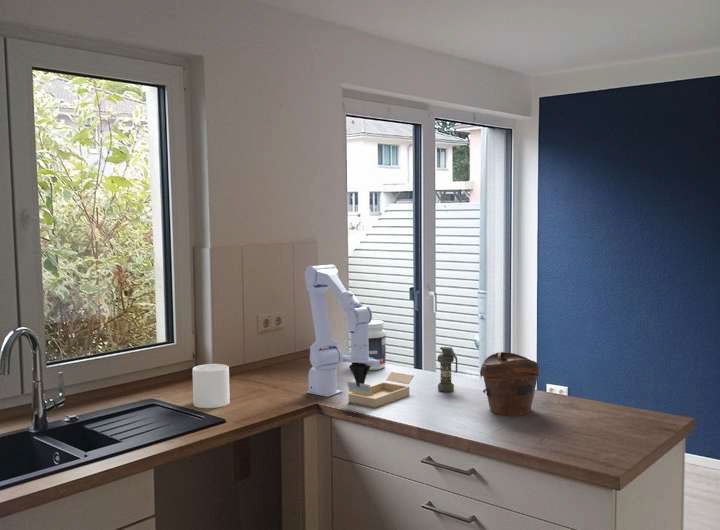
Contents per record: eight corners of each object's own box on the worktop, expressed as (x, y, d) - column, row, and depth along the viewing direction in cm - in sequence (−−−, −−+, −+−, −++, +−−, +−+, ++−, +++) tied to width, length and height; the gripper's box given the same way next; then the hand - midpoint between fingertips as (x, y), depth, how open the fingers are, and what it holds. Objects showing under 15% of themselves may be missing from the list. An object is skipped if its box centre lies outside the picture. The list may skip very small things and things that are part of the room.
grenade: (436, 392, 248) (435, 348, 247) (441, 387, 254) (440, 345, 253) (454, 393, 246) (454, 350, 245) (458, 389, 252) (458, 346, 250)
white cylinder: (237, 403, 238) (236, 367, 237) (207, 410, 229) (206, 373, 228) (215, 396, 246) (214, 362, 245) (186, 404, 237) (185, 368, 236)
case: (499, 398, 239) (499, 344, 237) (553, 410, 225) (553, 353, 223) (466, 410, 227) (465, 353, 225) (521, 423, 212) (521, 363, 211)
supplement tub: (351, 370, 282) (350, 324, 281) (356, 363, 295) (356, 319, 293) (383, 371, 280) (383, 324, 279) (387, 364, 293) (387, 319, 291)
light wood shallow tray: (348, 402, 236) (348, 393, 236) (383, 390, 251) (383, 382, 251) (375, 408, 229) (375, 398, 229) (409, 395, 244) (409, 386, 244)
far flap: (391, 371, 253) (391, 372, 253) (385, 379, 251) (386, 380, 251) (413, 375, 247) (414, 376, 247) (408, 383, 245) (408, 384, 245)
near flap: (350, 391, 235) (349, 391, 235) (346, 380, 234) (346, 381, 234) (372, 395, 229) (372, 396, 229) (369, 385, 228) (369, 385, 228)
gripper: (334, 343, 232) (334, 385, 233) (370, 349, 223) (370, 392, 224) (347, 340, 237) (348, 381, 239) (383, 345, 229) (384, 387, 230)
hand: (360, 386), depth 232 cm, fingers closed, pressing on near flap
